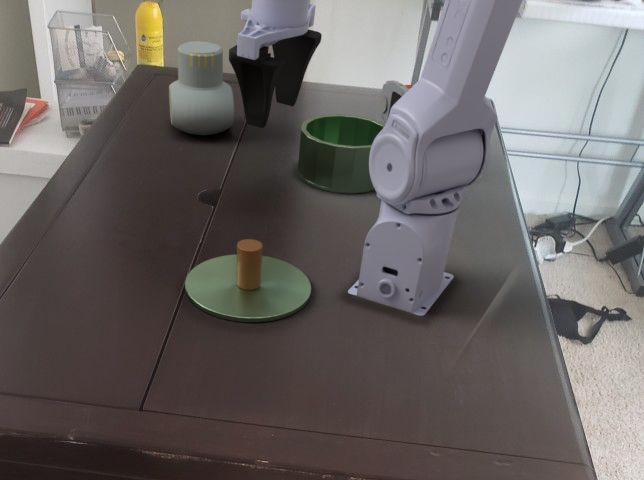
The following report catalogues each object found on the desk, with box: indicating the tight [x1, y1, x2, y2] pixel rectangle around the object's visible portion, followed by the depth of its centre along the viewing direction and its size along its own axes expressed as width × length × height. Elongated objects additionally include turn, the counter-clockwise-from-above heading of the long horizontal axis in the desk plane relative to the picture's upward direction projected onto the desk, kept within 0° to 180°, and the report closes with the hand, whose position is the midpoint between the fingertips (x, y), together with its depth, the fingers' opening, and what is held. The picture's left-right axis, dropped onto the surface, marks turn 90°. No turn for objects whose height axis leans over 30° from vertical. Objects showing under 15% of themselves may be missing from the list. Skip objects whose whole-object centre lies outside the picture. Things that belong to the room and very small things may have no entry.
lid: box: [184, 238, 312, 323], centre depth 71 cm, size 12×12×5 cm
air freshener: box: [168, 40, 235, 136], centre depth 100 cm, size 11×8×10 cm
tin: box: [297, 113, 385, 195], centre depth 92 cm, size 11×11×5 cm
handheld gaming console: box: [375, 80, 414, 124], centre depth 97 cm, size 14×3×8 cm, turn 18°
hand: (271, 114), depth 82 cm, fingers open, 7 cm apart
